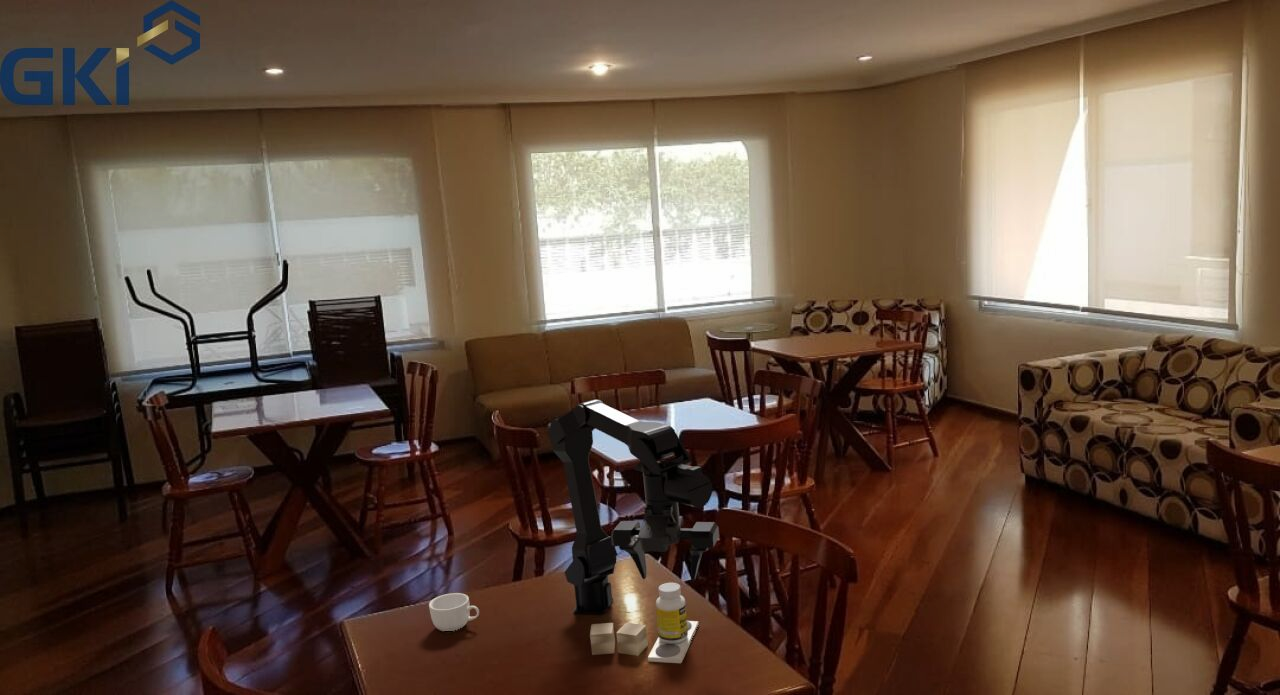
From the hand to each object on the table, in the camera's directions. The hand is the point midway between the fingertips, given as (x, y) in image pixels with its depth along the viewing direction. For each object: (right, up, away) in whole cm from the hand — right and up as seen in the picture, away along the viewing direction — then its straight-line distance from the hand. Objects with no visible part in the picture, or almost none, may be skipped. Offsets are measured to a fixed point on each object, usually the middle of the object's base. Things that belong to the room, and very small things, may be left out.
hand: (669, 579), depth 163 cm
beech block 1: (-12, -13, +2) cm, 18 cm away
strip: (+1, -12, +2) cm, 12 cm away
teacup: (-42, -14, +17) cm, 47 cm away
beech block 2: (-6, -13, +1) cm, 15 cm away
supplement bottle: (+1, -11, +2) cm, 12 cm away
